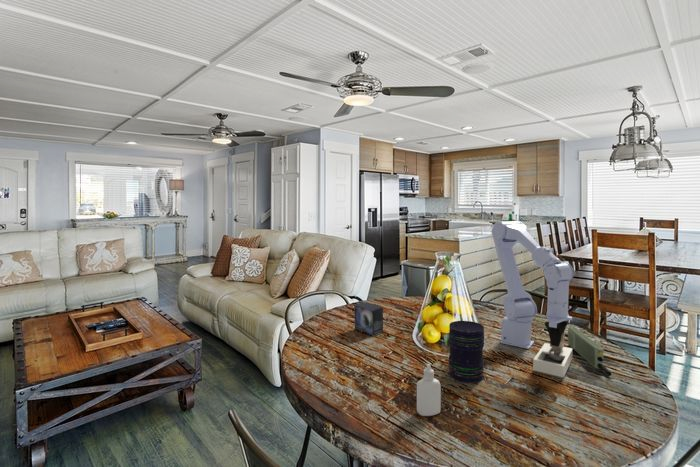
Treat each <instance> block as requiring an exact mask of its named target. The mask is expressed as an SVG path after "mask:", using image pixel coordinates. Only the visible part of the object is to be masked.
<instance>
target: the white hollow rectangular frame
mask: <svg viewBox="0 0 700 467" xmlns="http://www.w3.org/2000/svg"><path fill="white" fill-rule="evenodd" d="M573 350H574V349H573V348H572V347H568V346H564V347H563V349H560V352H561V353H560V354H559V356H560V357H565V358H564V360H562V361H558V360H553V359H551V358H549V352H551V351H554V347H550V343H547V342H544V344H543V345H542V346H541V348H540V350H539V351H538V352H537V354H536V355H535V356H534V358H533V359H532V360H533V362H532V371H533V372H535V373H539V374H543V375H547V376H550V377H554V378H559V379H563V380H565V377H566V374H567V372H568V369H569V368H570V365H571V364H572V362H573V354H574V353H573Z"/></svg>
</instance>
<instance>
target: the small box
mask: <svg viewBox="0 0 700 467" xmlns="http://www.w3.org/2000/svg"><path fill="white" fill-rule="evenodd" d="M353 307H354V309H353V310H354V312H353V314H354V330H355V329H356V330H355V331H357V330H359V331H358V332H360V331H362V332H365V333H367V334H366V335H368V334H370V335H375V336H377V335H376V334H378V333H381V332H383V333H384V307H383V306H381V305H377V304H374V303H370V302H368V301H367V302H366V301H363V302H359V303H357V304H354V305H353ZM362 332H361V333H362ZM365 333H364V334H365ZM381 334H382V333H381ZM370 335H369V336H370ZM378 335H379V334H378Z"/></svg>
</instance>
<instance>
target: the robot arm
mask: <svg viewBox="0 0 700 467" xmlns="http://www.w3.org/2000/svg"><path fill="white" fill-rule="evenodd" d="M491 235H492V239H493V243H494V246H495V251H496V254H497V258H498V262H499V264H500V268H501V269H500V270H501V272H502V275H503V279H504V284H505V288H506V291H507V294H506V295H505V297H504V298H503V299H502V302H503V304H504V305H503V311H504V315H505V316H504V317H503V318H502V320H501V326H500V329H501V331H500V343H501V344H504V345H508V346H514V347H517V348H523V349H527V350H528V349H530V348H531V347H532V346H533V344H534V343H535V341H534V340H532V320H534V317H535V316H536V315H537V313H538V307H537V304H536V302H535V301H534V300H533V297H532V295H531V294H530V293H529V292H527V291H526V290H525V289H524V285H523V281H522V279H521V275H520V272H519V268H518V264H517V261H516V258H515V255H514V251H513V247H514V246H515V245H516V244H517V243H519V244H521V245H522V246H523V247H524V248H525V249H526V250H528V252H530V253H531V260H533V261H534V262H535V264H536V265H537V266H539V268H540V269H541V270H542V271H543V276H544V279H545V282H546V287H547V306H546V309H547V310H546V319H547V320H548V321H545V322H544V325H545V326H544V327H545V328H546V330H547V332H548V337H549V343H550V342H551V345H553V346H558V347H559V345H560V341H561V336H562V333H565V331H566V328H567V325H568V324H569V322H570V321H572V320H573V317H572V316H570V315H569V297H570V296H569V294H570V281H571V280H573V278H574V275H575V270H574V268H573V267H572V265H571V264H570V263H569V262H564V261H563V260H561V259H560V258H558V257H557V256H556V255H555V254H554V253H553V252H552V250H551V249H550V247H546V246H540V244H539V243H538V242H537V241H536V240H535V239H534V238H533V236H532V235H531V234H530V232H528V231H527V225H525V224H524V223H523V222H522V221H520V220H512V221H496V222H495V223H494V224H493V226H492V229H491Z"/></svg>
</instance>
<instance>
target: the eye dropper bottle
mask: <svg viewBox="0 0 700 467" xmlns="http://www.w3.org/2000/svg"><path fill="white" fill-rule="evenodd" d="M434 376H435V372H434V369H433V368H432V367H431V364H429V363H427V364H426V368H423V377H422V379H420V380H418V381H417V383H416V412H417V413H418V415H419V416H421V417H431V416H435V415H438V414H439V413H440V412H441V409H442V407H441V402H442V401H441V398H442V396H441V393H442V391H441V390H442V389H441V388H442V387H441V383H440V382H441V381H440V380H438V379H437V378H435V377H434Z"/></svg>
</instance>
